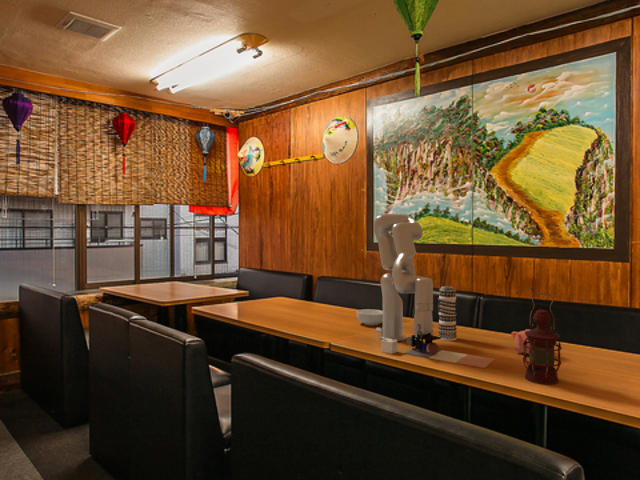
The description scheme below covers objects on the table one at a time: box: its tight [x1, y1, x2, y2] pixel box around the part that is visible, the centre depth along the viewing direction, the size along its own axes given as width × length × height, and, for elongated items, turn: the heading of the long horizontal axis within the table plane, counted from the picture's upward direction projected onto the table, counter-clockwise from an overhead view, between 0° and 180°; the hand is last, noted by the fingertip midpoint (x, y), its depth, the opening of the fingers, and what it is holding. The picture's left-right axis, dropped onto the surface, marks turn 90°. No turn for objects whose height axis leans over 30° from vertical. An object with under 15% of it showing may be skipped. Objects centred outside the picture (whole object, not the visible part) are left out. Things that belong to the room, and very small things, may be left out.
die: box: [380, 338, 398, 355], centre depth 188 cm, size 5×5×5 cm
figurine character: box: [405, 334, 441, 355], centre depth 187 cm, size 7×8×15 cm
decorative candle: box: [437, 285, 459, 342], centre depth 211 cm, size 9×9×25 cm
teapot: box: [511, 328, 531, 355], centre depth 185 cm, size 14×12×10 cm
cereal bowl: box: [356, 308, 383, 327], centre depth 245 cm, size 17×17×7 cm
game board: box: [403, 348, 496, 369], centre depth 180 cm, size 33×14×1 cm, turn 53°
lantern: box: [522, 292, 563, 386], centre depth 152 cm, size 12×12×30 cm
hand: (423, 347), depth 186 cm, fingers open, 9 cm apart
